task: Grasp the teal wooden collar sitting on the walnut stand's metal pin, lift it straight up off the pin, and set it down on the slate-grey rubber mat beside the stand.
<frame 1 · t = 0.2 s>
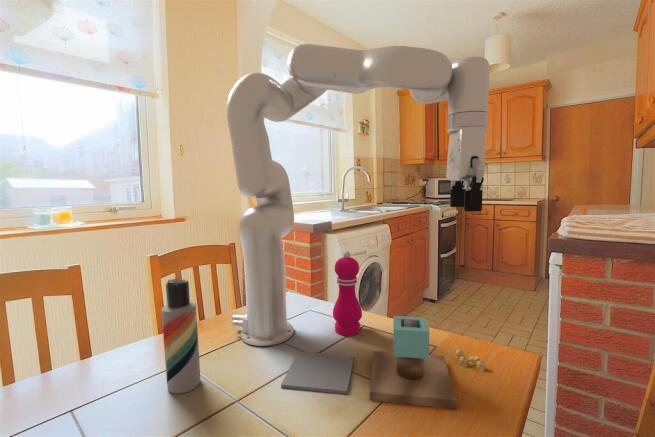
hand: (464, 208, 71), 31 cm above the table, tool pointing down, fingers open, 9 cm apart
collar: (410, 349, 63), point 6 cm above the table, touching stand
mat: (320, 372, 66), on the table
pepper mill: (347, 331, 84), on the table
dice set: (468, 366, 69), on the table
lotion bottle: (184, 385, 63), on the table
stand: (409, 379, 63), on the table
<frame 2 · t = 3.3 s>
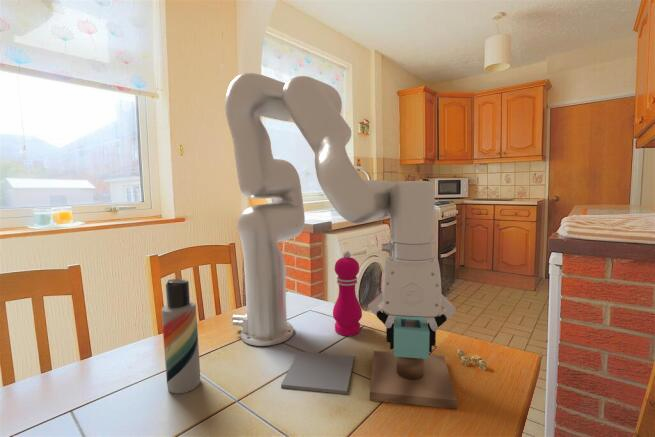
hand: (410, 346, 62), 7 cm above the table, tool pointing down, fingers closed on collar, 6 cm apart
collar: (410, 349, 63), point 6 cm above the table, touching gripper, stand
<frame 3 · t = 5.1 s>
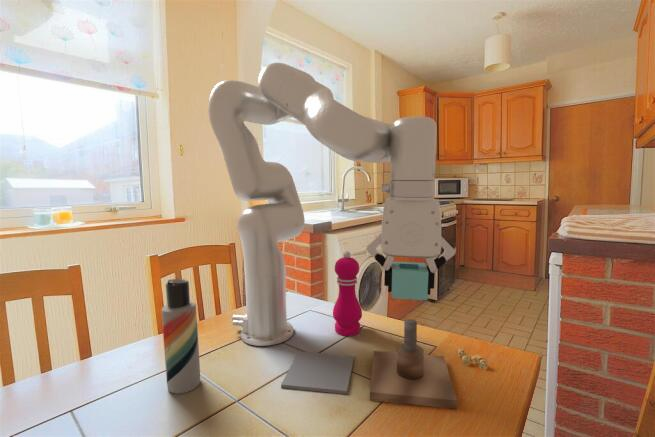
hand: (408, 290, 62), 17 cm above the table, tool pointing down, fingers closed on collar, 5 cm apart
collar: (408, 293, 62), point 17 cm above the table, touching gripper
everything else where it was.
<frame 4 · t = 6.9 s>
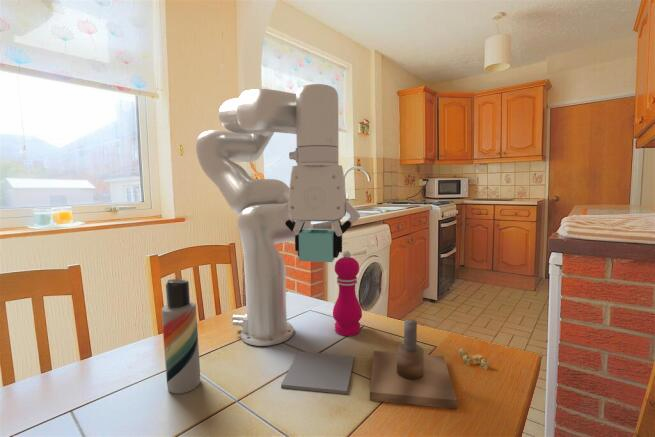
hand: (318, 254, 64), 23 cm above the table, tool pointing down, fingers closed on collar, 5 cm apart
collar: (318, 257, 64), point 23 cm above the table, touching gripper
everything else where it was.
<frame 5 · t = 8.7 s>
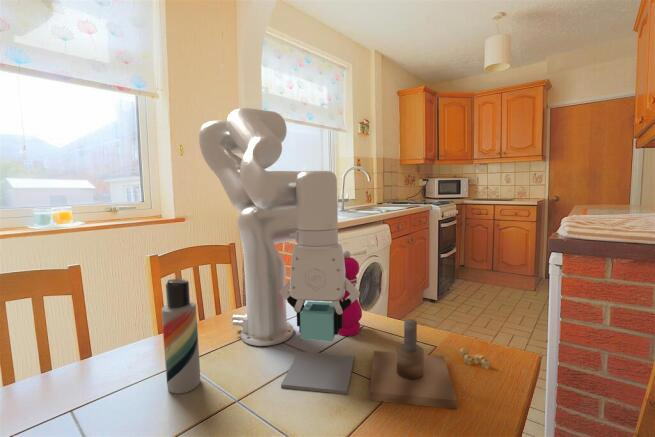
hand: (320, 329, 65), 9 cm above the table, tool pointing down, fingers closed on collar, 5 cm apart
collar: (320, 332, 65), point 8 cm above the table, touching gripper
when the fingers open (3 cm above the table, at t = 10.4 s): collar drops 1 cm, resting on mat.
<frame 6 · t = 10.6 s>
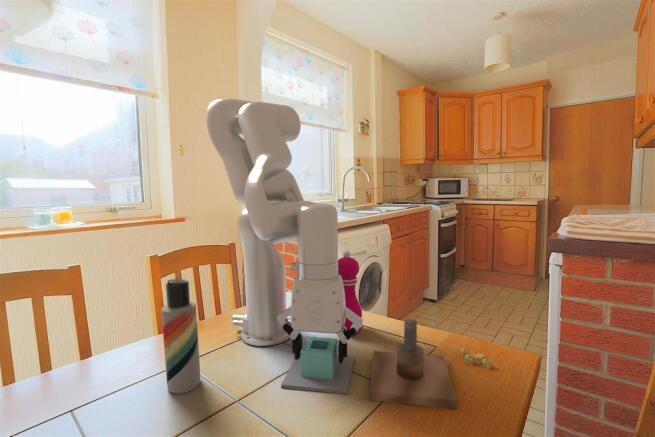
hand: (319, 357, 66), 3 cm above the table, tool pointing down, fingers open, 8 cm apart
collar: (320, 369, 66), point 1 cm above the table, touching mat
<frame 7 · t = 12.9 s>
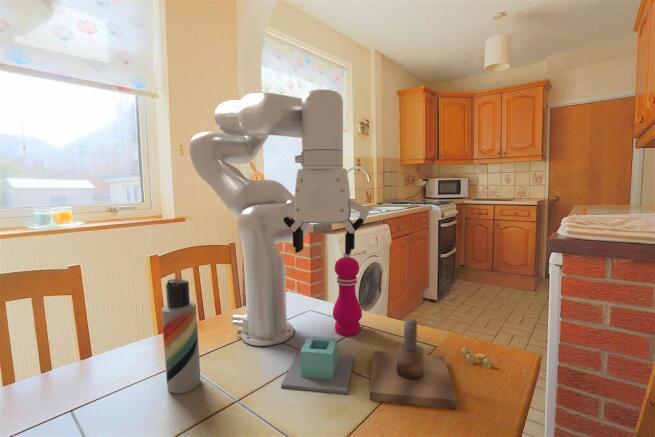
hand: (323, 252, 65), 23 cm above the table, tool pointing down, fingers open, 9 cm apart
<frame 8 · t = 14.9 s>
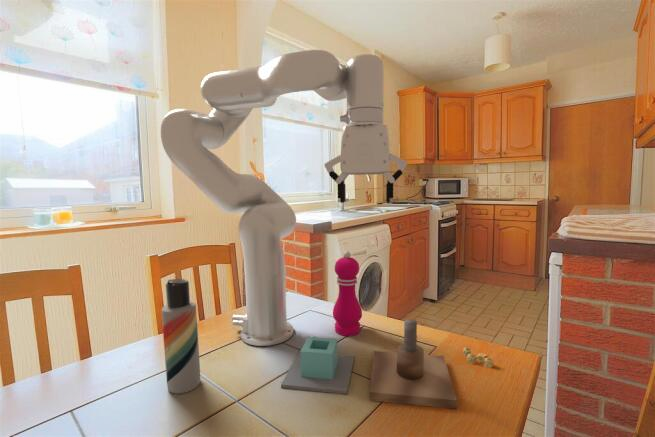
hand: (365, 202, 73), 32 cm above the table, tool pointing down, fingers open, 9 cm apart
at the end: collar inside the target area on the mat (0.0 cm from its centre), point 0.6 cm above the mat's base; collar tilted 0°; the gripper is holding nothing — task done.
